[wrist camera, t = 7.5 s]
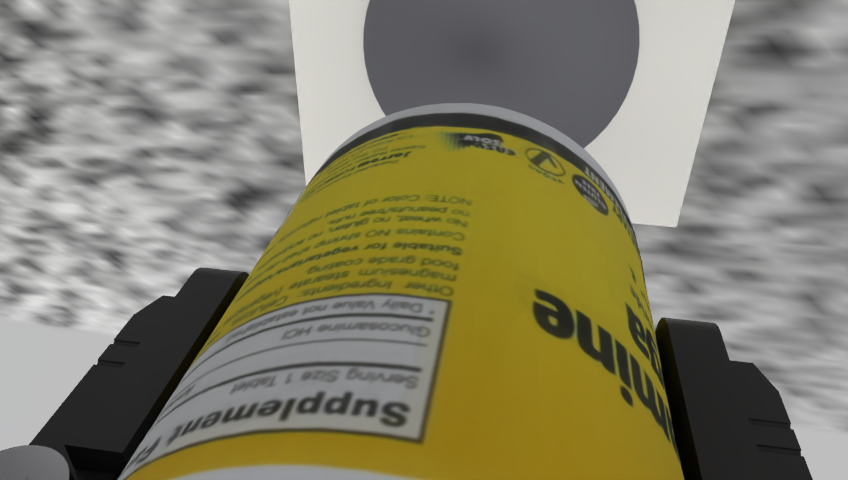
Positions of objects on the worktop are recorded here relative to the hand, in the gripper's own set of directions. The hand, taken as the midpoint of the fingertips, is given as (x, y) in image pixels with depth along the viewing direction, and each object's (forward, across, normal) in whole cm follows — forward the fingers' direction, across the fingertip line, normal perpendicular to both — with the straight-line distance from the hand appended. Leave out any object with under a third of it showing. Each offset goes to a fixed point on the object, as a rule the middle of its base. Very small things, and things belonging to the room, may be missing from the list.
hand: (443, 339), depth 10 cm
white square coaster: (+15, 0, 0) cm, 15 cm away
